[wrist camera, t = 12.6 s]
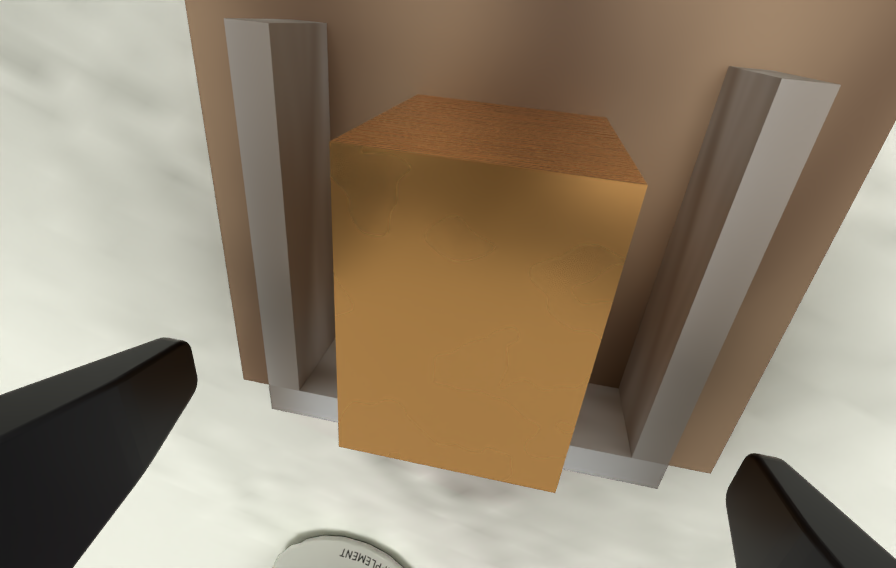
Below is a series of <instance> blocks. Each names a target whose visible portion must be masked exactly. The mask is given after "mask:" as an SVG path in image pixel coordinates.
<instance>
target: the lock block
mask: <svg viewBox="0 0 896 568" xmlns="http://www.w3.org/2000/svg"><path fill="white" fill-rule="evenodd" d="M329 148H330V180H331V211H332V242H333V274H334V305H335V337H336V368H337V400H338V431H339V447H344V448H348V449H353V450H357V451H362V452H367V453H371V454H376V455H381V456H385V457H390V458H395V459H399V460H404V461H409V462H413V463H418V464H423V465H427V466H432V467H437V468H441V469H446V470H451V471H455V472H460V473H464V474H469V475H474V476H478V477H483V478H488V479H492V480H497V481H502V482H506V483H511V484H516V485H520V486H525V487H530V488H534V489H539V490H544V491H548V492H553V493H555V492H556V489H557V485H558V482H559V479H560V476H561V472H562V469H563V466H564V462H565V459H566V456H567V452H568V449H569V446H570V442H571V439H572V436H573V432H574V429H575V426H576V422H577V419H578V416H579V412H580V409H581V406H582V402H583V399H584V396H585V392H586V389H587V386H588V382H589V379H590V376H591V373H592V369H593V366H594V363H595V359H596V356H597V353H598V349H599V346H600V343H601V339H602V336H603V333H604V329H605V326H606V323H607V319H608V316H609V313H610V309H611V306H612V303H613V299H614V296H615V293H616V289H617V286H618V283H619V280H620V276H621V273H622V270H623V266H624V263H625V260H626V256H627V253H628V250H629V246H630V243H631V240H632V236H633V233H634V230H635V226H636V223H637V220H638V216H639V213H640V210H641V206H642V203H643V200H644V196H645V193H646V190H647V187H648V185H647V183H646V181H645V180H644V178H643V177H642V175H641V173H640V172H639V170H638V168H637V167H636V165H635V163H634V162H633V160H632V159H631V157H630V155H629V154H628V152H627V150H626V149H625V147H624V145H623V144H622V142H621V141H620V139H619V137H618V136H617V134H616V132H615V131H614V129H613V127H612V126H611V124H610V123H609V121H608V119H607V118H606V117H598V116H590V115H582V114H573V113H565V112H557V111H549V110H541V109H533V108H525V107H516V106H508V105H500V104H492V103H484V102H476V101H468V100H459V99H451V98H443V97H435V96H427V95H419V94H417V95H415V96H413V97H412V98H410V99H408V100H406V101H404V102H402V103H400V104H398V105H397V106H395V107H393V108H391V109H389V110H387V111H385V112H383V113H382V114H380V115H378V116H376V117H374V118H372V119H370V120H369V121H367V122H365V123H363V124H361V125H359V126H357V127H355V128H354V129H352V130H350V131H348V132H346V133H344V134H342V135H341V136H339V137H337V138H335V139H333V140H331V141H329Z"/></svg>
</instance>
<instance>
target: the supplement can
mask: <svg viewBox="0 0 896 568" xmlns="http://www.w3.org/2000/svg"><path fill="white" fill-rule="evenodd" d="M272 568H403V567H402V566H401V565H400V564H398V563H397V562H396V561H395V560H394V559H393V558H392V557H390V556H389V555H388V554H386V553H385V552H383V551H381V550H379V549H377V548H375V547H373V546H371V545H370V544H368V543H364V542H361V541H358V540H354V539H351V538H347V537H341V536H325V535H323V536H318V537H314V538H309V539H306V540H304V541H303V542H302V543H299V544H294V545H291V546H290V547H289V548H287V549H286V550H285V551H283V552H282V553H281V554H279V556H278V558H277V560H276V562H275V564H274V565H273V567H272Z"/></svg>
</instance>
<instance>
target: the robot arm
mask: <svg viewBox="0 0 896 568" xmlns="http://www.w3.org/2000/svg"><path fill="white" fill-rule="evenodd" d="M197 380H198V379H197V373H196V369H195V364H194V359H193V355H192V350H191V347H190V345H189V344H188V343H187V342H185V341H182V340H177V339H172V338H159V339H156V340H153V341H150V342H148V343H145V344H142V345H139V346H136V347H134V348H131V349H128V350H125V351H122V352H120V353H117V354H114V355H111V356H108V357H106V358H103V359H100V360H97V361H94V362H92V363H89V364H86V365H83V366H80V367H78V368H75V369H72V370H69V371H66V372H64V373H61V374H58V375H55V376H52V377H50V378H47V379H44V380H41V381H38V382H35V383H33V384H30V385H27V386H24V387H21V388H19V389H16V390H13V391H10V392H7V393H5V394H2V395H0V568H73V567H74V566H75V564H76V563H77V562H78V560H79V559H80V558H81V556H82V555H83V554H84V552H85V551H86V550H87V548H88V547H89V546H90V545H91V543H92V542H93V541H94V539H95V538H96V537H97V535H98V534H99V533H100V531H101V530H102V529H103V527H104V526H105V525H106V523H107V522H108V521H109V519H110V518H111V517H112V515H113V514H114V513H115V511H116V510H117V509H118V507H119V506H120V505H121V504H122V502H123V501H124V500H125V498H126V497H127V496H128V494H129V493H130V492H131V490H132V489H133V488H134V486H135V485H136V484H137V482H138V481H139V479H140V478H141V477H142V475H143V474H144V472H145V471H146V469H147V468H148V466H149V465H150V463H151V462H152V460H153V459H154V457H155V456H156V454H157V452H158V451H159V449H160V448H161V446H162V444H163V443H164V441H165V440H166V438H167V436H168V435H169V433H170V431H171V430H172V428H173V427H174V425H175V423H176V422H177V420H178V418H179V417H180V415H181V414H182V412H183V410H184V409H185V407H186V406H187V404H188V402H189V401H190V399H191V397H192V396H193V394H194V392H195V390H196V387H197ZM726 508H727V514H728V520H729V526H730V532H731V538H732V544H733V550H734V556H735V562H736V568H896V559H895V558H894V557H893V556H892V555H891V554H890V553H888V552H887V551H886V550H885V549H884V548H883V547H882V546H880V545H879V544H878V543H877V542H876V541H875V540H874V539H872V538H871V537H870V536H869V535H868V534H867V533H866V532H865V531H863V530H862V529H861V528H860V527H859V526H858V525H857V524H855V523H854V522H853V521H852V520H851V519H850V518H849V517H848V516H846V515H845V514H844V513H843V512H842V511H841V510H840V509H838V508H837V507H836V506H835V505H834V504H833V503H832V502H830V501H829V500H828V499H827V498H826V497H825V496H824V495H823V494H821V493H820V492H819V491H818V490H817V489H816V488H815V487H813V486H812V485H811V484H810V483H809V482H808V481H807V480H806V479H804V478H803V477H802V476H801V475H800V474H799V473H798V472H796V471H795V470H794V469H793V468H792V467H791V466H790V465H789V464H787V463H786V462H785V461H783V460H782V459H779V458H777V457H772V456H766V455H761V454H756V453H753V454H749V455H748V456H746V458H745V459H744V460H743V462H742V464H741V466H740V468H739V469H738V471H737V473H736V475H735V476H734V478H733V480H732V482H731V484H730V485H729V487H728V490H727V493H726Z"/></svg>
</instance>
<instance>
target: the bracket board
mask: <svg viewBox="0 0 896 568" xmlns="http://www.w3.org/2000/svg"><path fill="white" fill-rule="evenodd" d="M185 5H186V11H187V18H188V24H189V31H190V37H191V43H192V50H193V56H194V63H195V69H196V75H197V82H198V88H199V95H200V101H201V108H202V114H203V120H204V127H205V133H206V140H207V146H208V153H209V159H210V165H211V172H212V178H213V185H214V191H215V198H216V204H217V210H218V217H219V223H220V230H221V236H222V243H223V249H224V255H225V262H226V268H227V275H228V281H229V288H230V294H231V300H232V307H233V313H234V320H235V326H236V333H237V339H238V345H239V352H240V358H241V365H242V371H243V378H244V379H245V380H250V381H254V382H259V383H264V384H269V389H270V398H271V406H272V409H276V410H281V411H286V412H291V413H295V414H300V415H305V416H310V417H315V418H319V419H324V420H329V421H334V422H338V400H337V368H336V337H335V305H334V274H333V242H332V211H331V180H330V148H329V141H331V140H333V139H335V138H337V137H339V136H341V135H342V134H344V133H346V132H348V131H350V130H352V129H354V128H355V127H357V126H359V125H361V124H363V123H365V122H367V121H369V120H370V119H372V118H374V117H376V116H378V115H380V114H382V113H383V112H385V111H387V110H389V109H391V108H393V107H395V106H397V105H398V104H400V103H402V102H404V101H406V100H408V99H410V98H412V97H413V96H415V95H417V94H419V95H427V96H435V97H443V98H451V99H459V100H468V101H476V102H484V103H492V104H500V105H508V106H516V107H525V108H533V109H541V110H549V111H557V112H565V113H573V114H582V115H590V116H598V117H606V118H607V119H608V121H609V123H610V124H611V126H612V127H613V129H614V131H615V132H616V134H617V136H618V137H619V139H620V141H621V142H622V144H623V145H624V147H625V149H626V150H627V152H628V154H629V155H630V157H631V159H632V160H633V162H634V163H635V165H636V167H637V168H638V170H639V172H640V173H641V175H642V177H643V178H644V180H645V181H646V183H647V185H648V187H647V190H646V193H645V196H644V200H643V203H642V206H641V210H640V213H639V216H638V220H637V223H636V226H635V230H634V233H633V236H632V240H631V243H630V246H629V250H628V253H627V256H626V260H625V263H624V266H623V270H622V273H621V276H620V280H619V283H618V286H617V289H616V293H615V296H614V299H613V303H612V306H611V309H610V313H609V316H608V319H607V323H606V326H605V329H604V333H603V336H602V339H601V343H600V346H599V349H598V353H597V356H596V359H595V363H594V366H593V369H592V373H591V376H590V379H589V382H588V386H587V389H586V392H585V396H584V399H583V402H582V406H581V409H580V412H579V416H578V419H577V422H576V426H575V429H574V432H573V436H572V439H571V442H570V446H569V449H568V452H567V456H566V459H565V462H564V466H563V469H564V470H569V471H574V472H579V473H584V474H589V475H593V476H598V477H603V478H608V479H613V480H617V481H622V482H627V483H632V484H637V485H641V486H646V487H651V488H656V489H658V486H659V484H660V482H661V480H662V478H663V475H664V473H665V471H666V469H667V467H668V465H671V466H675V467H680V468H685V469H690V470H695V471H700V472H705V473H710V474H711V472H712V470H713V468H714V466H715V464H716V462H717V460H718V459H719V457H720V455H721V453H722V451H723V449H724V447H725V445H726V443H727V441H728V439H729V438H730V436H731V434H732V432H733V430H734V428H735V426H736V424H737V422H738V420H739V418H740V417H741V415H742V413H743V411H744V409H745V407H746V405H747V403H748V401H749V399H750V397H751V396H752V394H753V392H754V390H755V388H756V386H757V384H758V382H759V380H760V378H761V376H762V375H763V373H764V371H765V369H766V367H767V365H768V363H769V361H770V359H771V357H772V356H773V354H774V352H775V350H776V348H777V346H778V344H779V342H780V340H781V338H782V336H783V335H784V333H785V331H786V329H787V327H788V325H789V323H790V321H791V319H792V317H793V315H794V314H795V312H796V310H797V308H798V306H799V304H800V302H801V300H802V298H803V296H804V294H805V293H806V291H807V289H808V287H809V285H810V283H811V281H812V279H813V277H814V275H815V273H816V272H817V270H818V268H819V266H820V264H821V262H822V260H823V258H824V256H825V254H826V253H827V251H828V249H829V247H830V245H831V243H832V241H833V239H834V237H835V235H836V233H837V232H838V230H839V228H840V226H841V224H842V222H843V220H844V218H845V216H846V214H847V212H848V211H849V209H850V207H851V205H852V203H853V201H854V199H855V197H856V195H857V193H858V191H859V190H860V188H861V186H862V184H863V182H864V180H865V178H866V176H867V174H868V172H869V170H870V169H871V167H872V165H873V163H874V161H875V159H876V157H877V155H878V153H879V151H880V150H881V148H882V146H883V144H884V142H885V140H886V138H887V136H888V134H889V132H890V130H891V129H892V127H893V125H894V123H895V121H896V0H185Z"/></svg>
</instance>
